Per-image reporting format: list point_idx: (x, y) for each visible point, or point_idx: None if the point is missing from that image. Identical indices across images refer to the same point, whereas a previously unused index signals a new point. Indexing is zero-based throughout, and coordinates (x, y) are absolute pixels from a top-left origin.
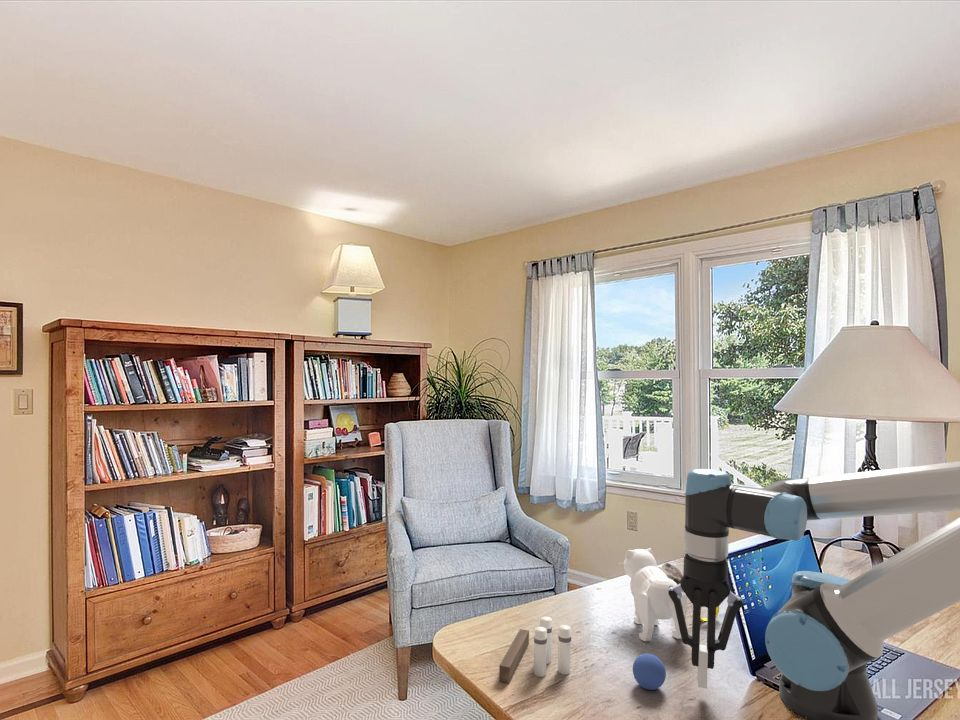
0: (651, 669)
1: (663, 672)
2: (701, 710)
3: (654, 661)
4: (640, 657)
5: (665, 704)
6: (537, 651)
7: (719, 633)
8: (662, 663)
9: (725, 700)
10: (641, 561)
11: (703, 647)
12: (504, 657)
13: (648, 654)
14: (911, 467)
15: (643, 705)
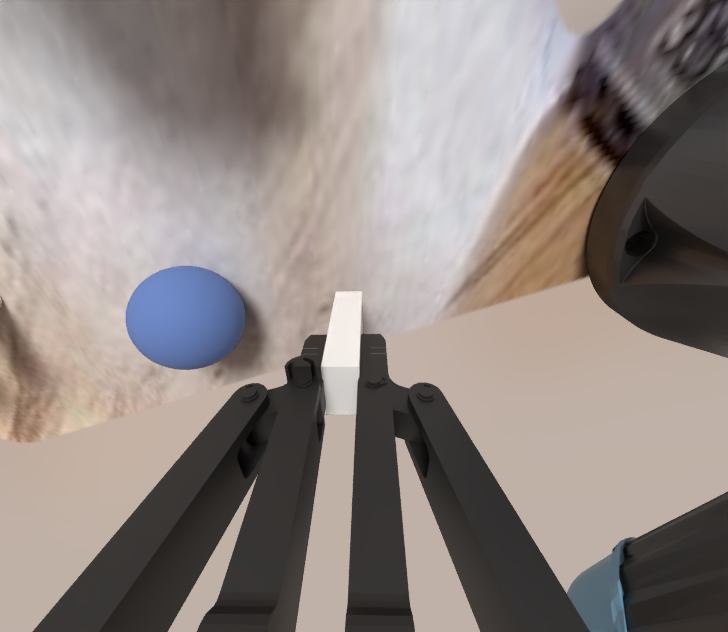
0: (196, 368)
1: (232, 345)
2: None
3: (189, 362)
4: (138, 348)
5: (269, 348)
6: None
7: (423, 431)
8: (216, 332)
9: (413, 285)
10: None
11: (343, 384)
12: None
13: (154, 343)
14: None
15: (225, 366)
